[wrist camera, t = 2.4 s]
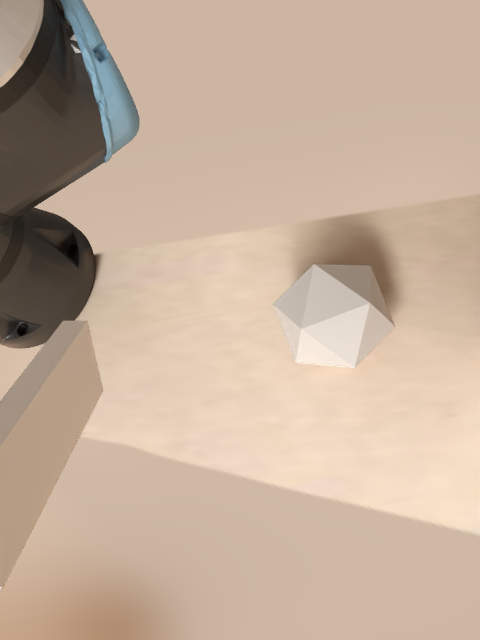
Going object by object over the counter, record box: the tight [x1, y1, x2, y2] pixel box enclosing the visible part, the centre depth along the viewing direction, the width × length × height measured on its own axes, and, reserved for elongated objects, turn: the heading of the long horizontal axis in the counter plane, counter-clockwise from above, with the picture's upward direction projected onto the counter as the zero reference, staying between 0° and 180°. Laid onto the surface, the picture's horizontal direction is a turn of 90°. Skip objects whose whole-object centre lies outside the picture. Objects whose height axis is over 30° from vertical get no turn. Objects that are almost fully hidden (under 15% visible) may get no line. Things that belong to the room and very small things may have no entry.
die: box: [273, 264, 395, 368], centre depth 36 cm, size 8×9×10 cm
